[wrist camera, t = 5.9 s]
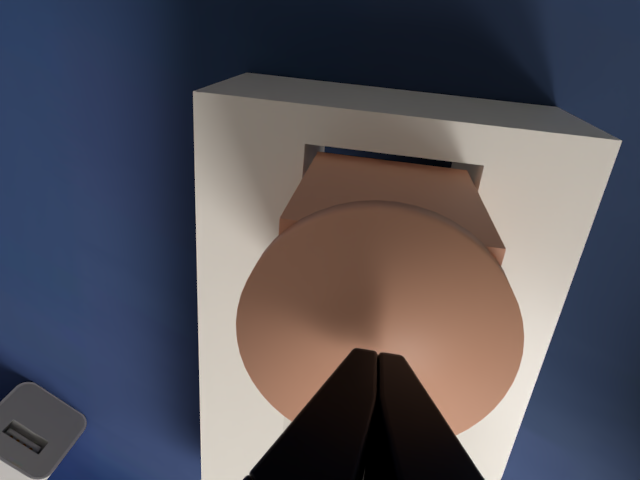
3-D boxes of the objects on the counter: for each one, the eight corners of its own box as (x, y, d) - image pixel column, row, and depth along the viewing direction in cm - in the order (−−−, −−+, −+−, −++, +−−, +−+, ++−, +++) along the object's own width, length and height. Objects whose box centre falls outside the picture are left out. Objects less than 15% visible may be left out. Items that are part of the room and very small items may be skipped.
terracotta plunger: (495, 150, 12) (563, 236, 7) (453, 317, 15) (485, 470, 10) (297, 127, 13) (238, 193, 8) (286, 292, 15) (233, 426, 10)
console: (557, 107, 16) (622, 140, 11) (437, 516, 25) (447, 626, 20) (246, 72, 17) (192, 91, 12) (237, 478, 26) (203, 576, 21)
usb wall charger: (92, 419, 25) (42, 486, 22) (41, 481, 28) (-11, 549, 25) (26, 376, 25) (-37, 437, 21) (-20, 444, 28) (-82, 508, 24)
